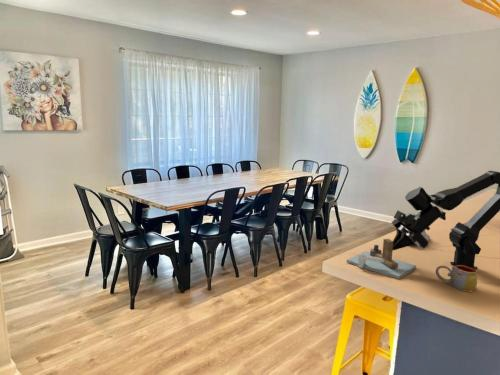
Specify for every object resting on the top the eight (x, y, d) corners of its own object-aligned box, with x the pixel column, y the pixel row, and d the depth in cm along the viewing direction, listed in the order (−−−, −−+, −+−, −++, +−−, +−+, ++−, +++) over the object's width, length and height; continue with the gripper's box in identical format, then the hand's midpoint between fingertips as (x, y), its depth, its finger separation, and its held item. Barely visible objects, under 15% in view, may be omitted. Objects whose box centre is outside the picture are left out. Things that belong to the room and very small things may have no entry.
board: (415, 268, 135) (416, 265, 135) (398, 279, 125) (398, 276, 125) (365, 253, 149) (365, 251, 149) (346, 262, 139) (346, 259, 139)
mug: (477, 287, 120) (480, 267, 119) (473, 294, 115) (476, 274, 114) (437, 277, 128) (439, 258, 127) (432, 283, 123) (434, 264, 121)
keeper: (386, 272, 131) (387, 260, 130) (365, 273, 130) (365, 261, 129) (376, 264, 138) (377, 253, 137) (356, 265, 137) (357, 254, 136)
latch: (368, 253, 144) (369, 232, 143) (377, 253, 145) (379, 232, 144) (389, 268, 131) (391, 245, 129) (399, 267, 131) (401, 244, 130)
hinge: (418, 247, 156) (412, 224, 157) (407, 249, 160) (401, 226, 160) (430, 238, 169) (424, 217, 169) (419, 239, 172) (413, 218, 172)
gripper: (398, 198, 141) (367, 226, 143) (422, 209, 123) (387, 241, 125) (417, 218, 143) (386, 246, 145) (443, 232, 125) (408, 264, 126)
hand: (391, 248), depth 135 cm, fingers closed
